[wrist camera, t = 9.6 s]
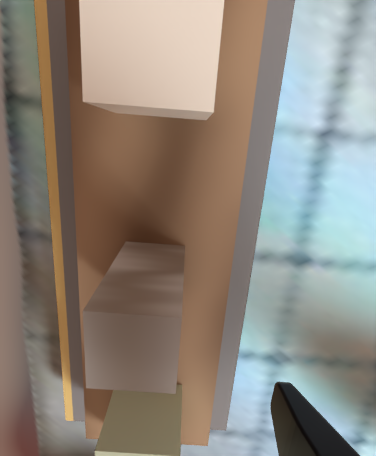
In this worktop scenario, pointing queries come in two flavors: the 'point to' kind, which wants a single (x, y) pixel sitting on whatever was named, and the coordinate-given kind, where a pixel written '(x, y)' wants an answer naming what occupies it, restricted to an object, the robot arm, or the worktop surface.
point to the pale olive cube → (142, 424)
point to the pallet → (160, 231)
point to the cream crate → (151, 56)
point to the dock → (65, 205)
